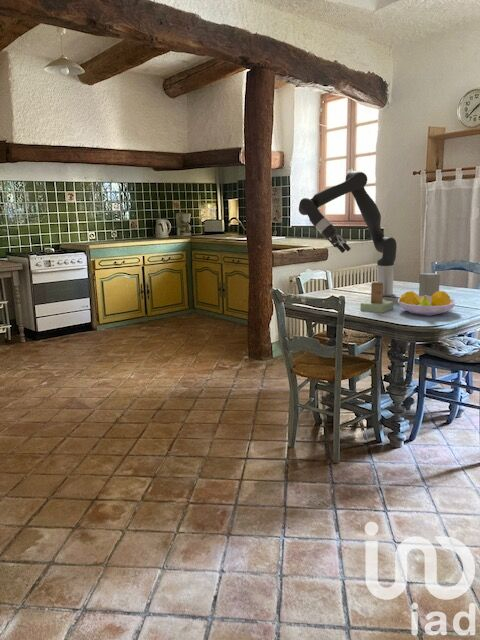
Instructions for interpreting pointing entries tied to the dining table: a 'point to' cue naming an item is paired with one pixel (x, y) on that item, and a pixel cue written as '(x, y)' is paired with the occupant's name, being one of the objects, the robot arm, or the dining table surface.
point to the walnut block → (377, 292)
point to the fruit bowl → (426, 303)
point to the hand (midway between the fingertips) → (346, 250)
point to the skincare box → (428, 284)
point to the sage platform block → (377, 306)
